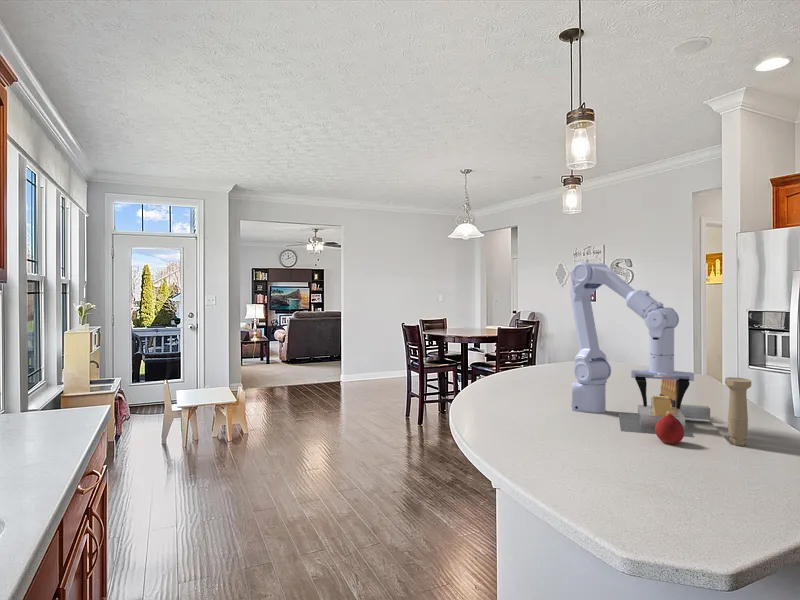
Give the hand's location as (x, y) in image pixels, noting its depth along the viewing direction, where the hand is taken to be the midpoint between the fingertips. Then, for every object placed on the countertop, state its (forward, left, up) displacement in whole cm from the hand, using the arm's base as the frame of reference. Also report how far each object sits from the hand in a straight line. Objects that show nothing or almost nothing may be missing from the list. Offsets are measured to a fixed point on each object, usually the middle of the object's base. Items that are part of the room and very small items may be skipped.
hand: (661, 407), depth 136 cm
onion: (0, -18, -6) cm, 18 cm away
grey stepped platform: (0, 0, -6) cm, 6 cm away
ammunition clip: (+4, +20, -6) cm, 21 cm away
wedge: (0, 0, -4) cm, 4 cm away
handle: (+15, -10, -6) cm, 19 cm away
